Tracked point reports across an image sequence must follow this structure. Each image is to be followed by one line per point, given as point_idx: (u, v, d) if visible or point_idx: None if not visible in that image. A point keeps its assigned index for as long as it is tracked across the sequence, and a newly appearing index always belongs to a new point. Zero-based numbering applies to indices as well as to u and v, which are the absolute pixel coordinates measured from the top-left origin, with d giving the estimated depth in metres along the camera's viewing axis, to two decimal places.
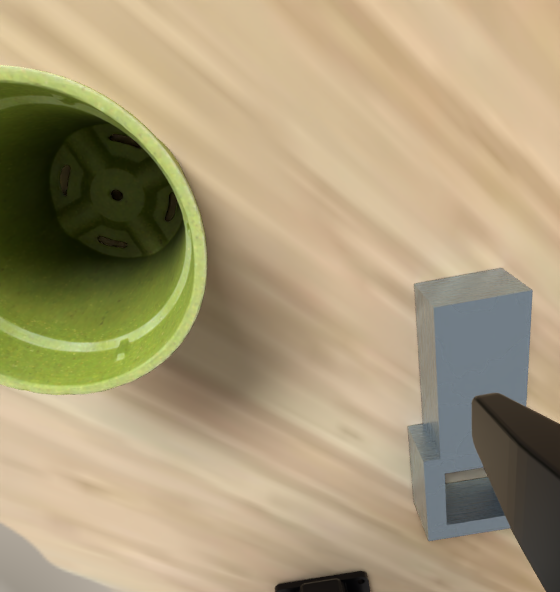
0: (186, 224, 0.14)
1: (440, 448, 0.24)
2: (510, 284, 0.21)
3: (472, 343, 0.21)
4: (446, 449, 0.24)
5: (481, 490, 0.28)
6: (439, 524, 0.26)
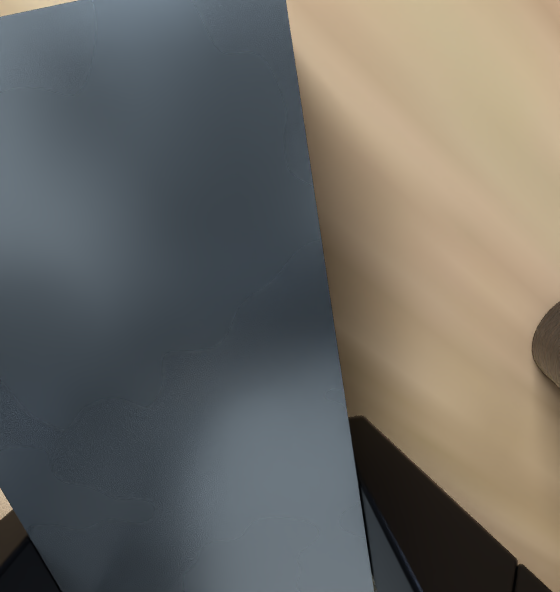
0: None
1: None
2: None
3: (56, 277, 0.05)
4: None
5: None
6: None
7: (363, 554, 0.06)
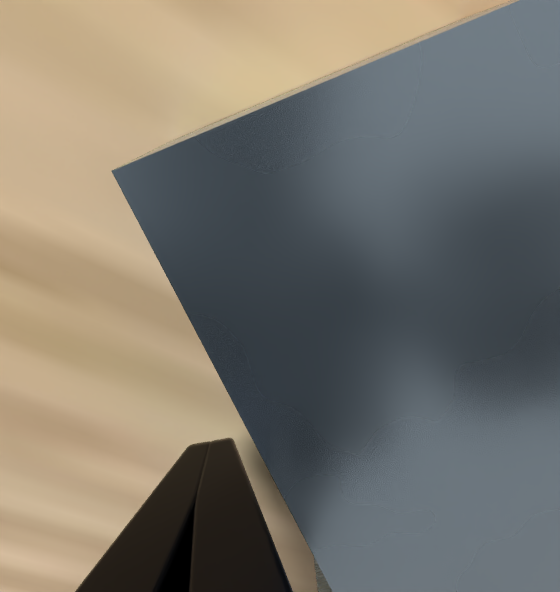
0: None
1: None
2: (488, 11, 0.04)
3: (364, 310, 0.05)
4: None
5: None
6: None
7: None
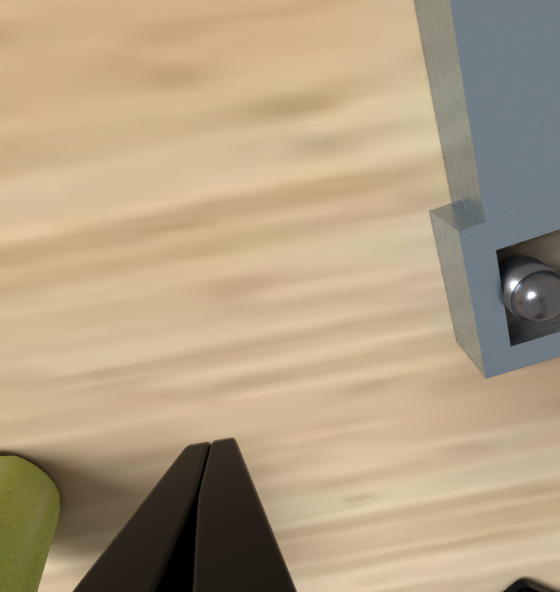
0: None
1: (483, 200, 0.15)
2: None
3: None
4: (493, 202, 0.15)
5: None
6: (499, 346, 0.17)
7: None
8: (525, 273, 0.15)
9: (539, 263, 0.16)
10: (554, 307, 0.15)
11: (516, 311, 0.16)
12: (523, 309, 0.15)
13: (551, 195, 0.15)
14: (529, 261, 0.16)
